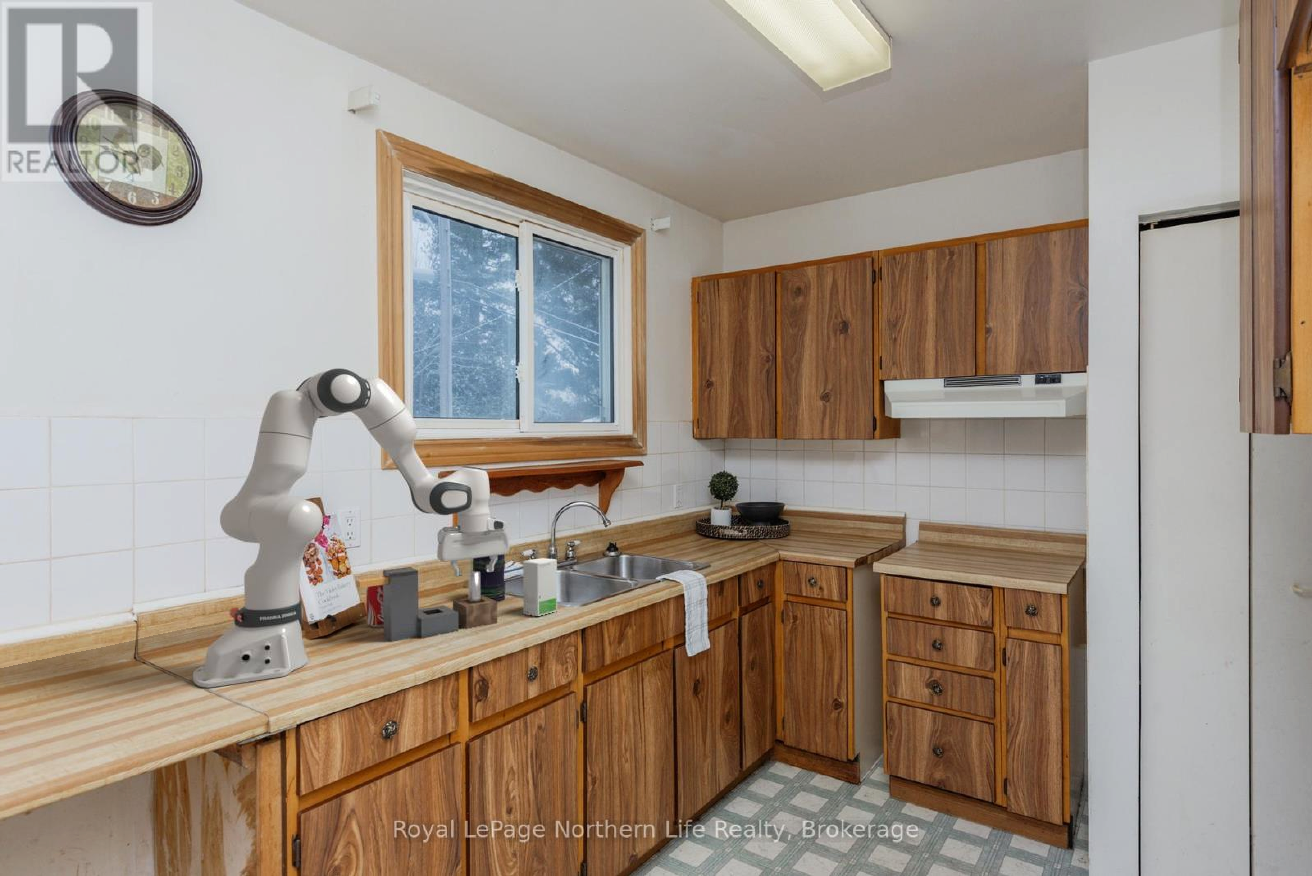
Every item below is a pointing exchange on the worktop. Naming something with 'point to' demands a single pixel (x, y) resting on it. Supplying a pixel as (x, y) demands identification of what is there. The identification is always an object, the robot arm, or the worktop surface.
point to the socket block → (412, 609)
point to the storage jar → (491, 577)
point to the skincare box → (539, 586)
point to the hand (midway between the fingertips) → (474, 573)
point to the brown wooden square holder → (476, 612)
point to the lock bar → (372, 582)
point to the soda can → (375, 606)
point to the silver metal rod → (474, 587)
